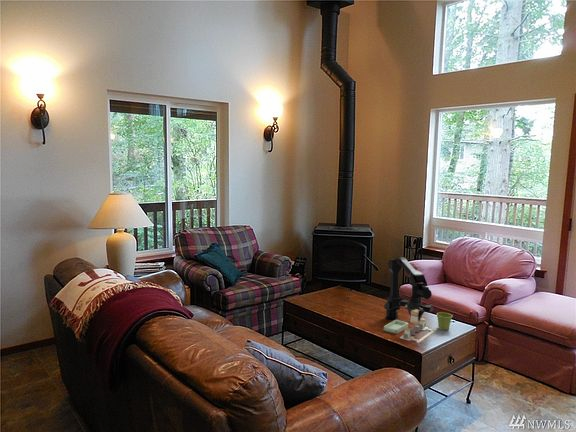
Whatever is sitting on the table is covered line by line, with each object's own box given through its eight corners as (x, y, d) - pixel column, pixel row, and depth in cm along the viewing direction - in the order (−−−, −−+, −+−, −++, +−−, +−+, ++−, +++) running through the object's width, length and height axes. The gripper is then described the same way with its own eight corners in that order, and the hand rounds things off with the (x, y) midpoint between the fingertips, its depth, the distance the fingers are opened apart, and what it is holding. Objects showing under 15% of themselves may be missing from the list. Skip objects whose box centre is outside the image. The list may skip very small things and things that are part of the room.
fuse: (410, 322, 245) (410, 311, 244) (413, 320, 248) (413, 309, 248) (417, 324, 242) (417, 312, 241) (420, 322, 246) (421, 311, 245)
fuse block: (399, 338, 238) (400, 328, 237) (419, 325, 258) (419, 316, 258) (418, 343, 231) (419, 333, 230) (436, 330, 251) (437, 321, 250)
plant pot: (433, 328, 254) (433, 314, 254) (439, 324, 261) (440, 311, 260) (448, 332, 248) (449, 318, 247) (454, 328, 255) (455, 314, 254)
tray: (383, 330, 249) (383, 326, 249) (395, 323, 262) (395, 319, 262) (396, 334, 244) (396, 330, 243) (408, 326, 256) (408, 322, 256)
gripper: (395, 293, 244) (394, 319, 245) (426, 300, 232) (425, 327, 233) (404, 290, 252) (402, 315, 254) (434, 296, 240) (432, 322, 241)
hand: (415, 319), depth 245 cm, fingers closed on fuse, 4 cm apart
